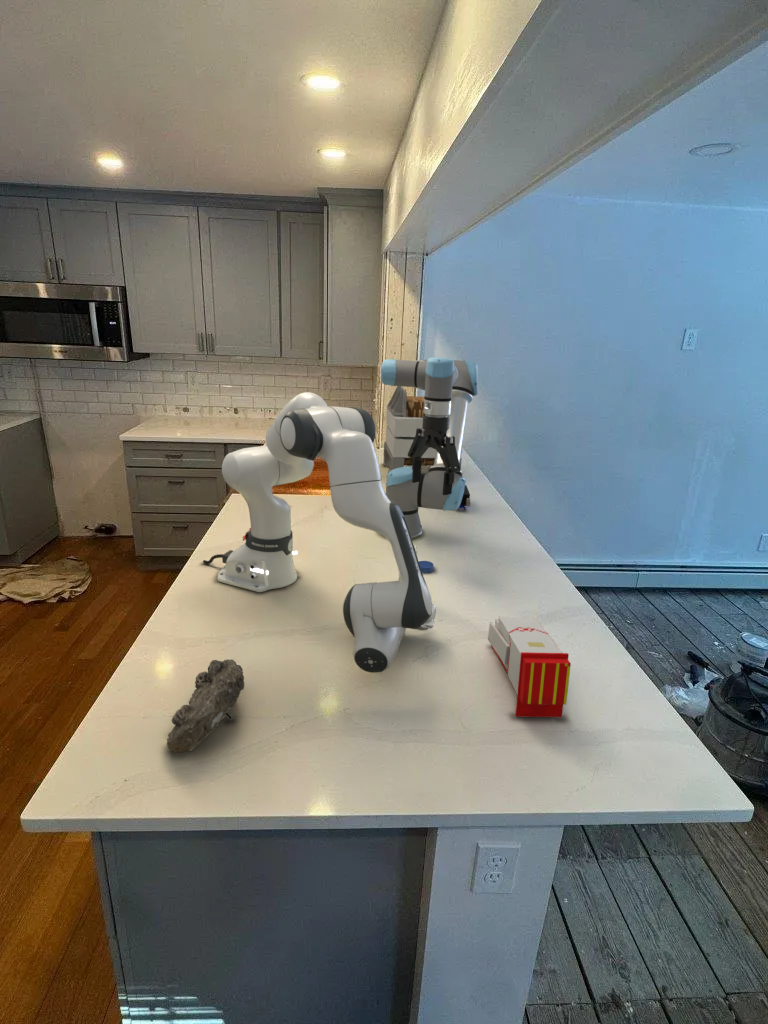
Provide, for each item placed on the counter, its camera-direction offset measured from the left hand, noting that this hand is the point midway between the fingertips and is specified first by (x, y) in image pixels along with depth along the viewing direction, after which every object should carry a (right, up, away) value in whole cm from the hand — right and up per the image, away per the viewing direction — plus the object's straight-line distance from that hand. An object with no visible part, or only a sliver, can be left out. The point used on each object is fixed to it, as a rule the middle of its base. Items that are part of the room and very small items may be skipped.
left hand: (399, 595), depth 143 cm
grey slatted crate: (+13, +40, +132) cm, 139 cm away
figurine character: (+27, +23, +88) cm, 95 cm away
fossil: (-37, -18, -35) cm, 54 cm away
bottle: (+2, -2, +13) cm, 14 cm away
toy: (+26, -15, -18) cm, 35 cm away
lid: (+9, +5, +30) cm, 32 cm away
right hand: (+10, +28, +22) cm, 37 cm away
